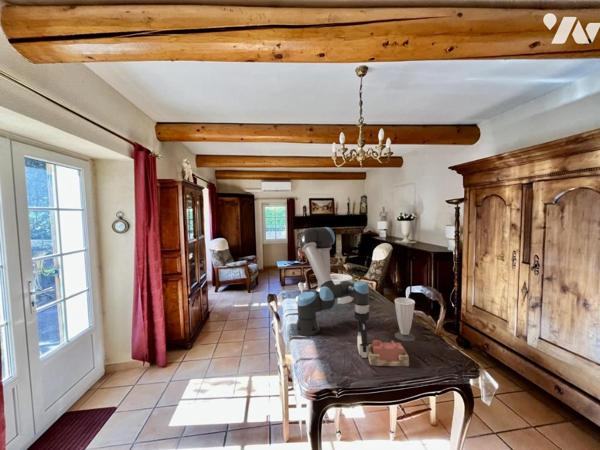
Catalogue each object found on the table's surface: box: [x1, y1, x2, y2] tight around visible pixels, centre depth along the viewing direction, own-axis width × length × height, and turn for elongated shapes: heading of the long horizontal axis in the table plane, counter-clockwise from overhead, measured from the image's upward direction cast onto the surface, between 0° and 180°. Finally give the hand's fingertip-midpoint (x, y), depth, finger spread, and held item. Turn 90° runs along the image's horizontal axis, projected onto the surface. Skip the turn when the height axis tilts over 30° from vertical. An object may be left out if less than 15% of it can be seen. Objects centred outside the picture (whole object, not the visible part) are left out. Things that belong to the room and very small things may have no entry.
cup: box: [393, 297, 416, 342], centre depth 154 cm, size 12×12×22 cm
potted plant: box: [295, 282, 307, 306], centre depth 200 cm, size 13×12×25 cm
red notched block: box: [371, 339, 405, 361], centre depth 131 cm, size 14×6×8 cm, turn 85°
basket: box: [330, 273, 354, 305], centre depth 224 cm, size 25×24×19 cm
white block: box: [356, 335, 362, 356], centre depth 140 cm, size 9×4×6 cm, turn 174°
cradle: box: [367, 343, 410, 367], centre depth 131 cm, size 18×11×5 cm, turn 85°
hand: (362, 350), depth 140 cm, fingers open, 13 cm apart
